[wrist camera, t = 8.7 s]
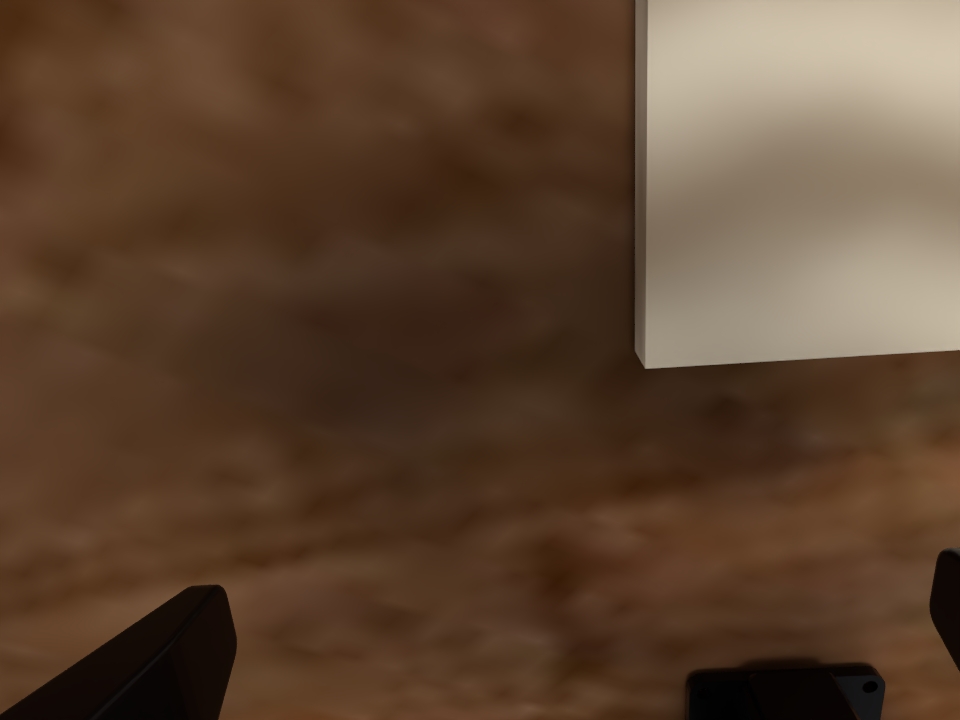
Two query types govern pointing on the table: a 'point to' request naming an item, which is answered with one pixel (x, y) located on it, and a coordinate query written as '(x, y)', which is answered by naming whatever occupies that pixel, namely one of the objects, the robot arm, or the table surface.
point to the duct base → (796, 179)
